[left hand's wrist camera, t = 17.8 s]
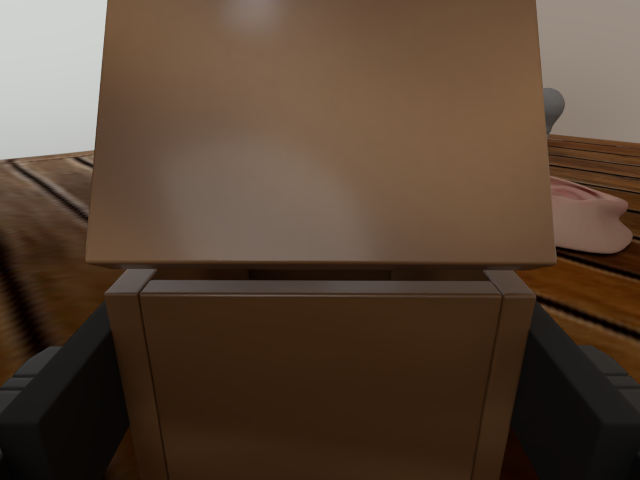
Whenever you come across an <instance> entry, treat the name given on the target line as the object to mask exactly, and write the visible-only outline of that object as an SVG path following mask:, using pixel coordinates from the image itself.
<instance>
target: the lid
mask: <svg viewBox="0 0 640 480" xmlns="http://www.w3.org/2000/svg"><path fill="white" fill-rule="evenodd" d="M85 262H86V263H88V264H91V265H96V266H101V267H106V268H110V269H276V270H534V269H539V268H544V267H549V266H553V265H555V264H556V262H557V259H556V246H555V234H554V222H553V209H552V197H551V184H550V172H549V160H548V147H547V135H546V122H545V110H544V98H543V85H542V73H541V60H540V48H539V36H538V24H537V11H536V0H108V1H107V12H106V24H105V36H104V47H103V59H102V70H101V82H100V93H99V104H98V116H97V127H96V139H95V150H94V162H93V173H92V185H91V196H90V208H89V219H88V231H87V242H86V254H85Z"/></svg>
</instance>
